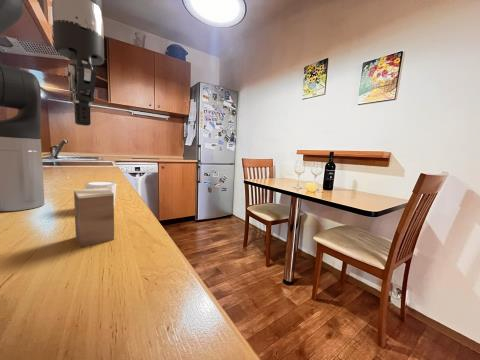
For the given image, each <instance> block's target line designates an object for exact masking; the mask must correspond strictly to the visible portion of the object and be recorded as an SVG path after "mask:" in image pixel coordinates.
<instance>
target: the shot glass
mask: <svg viewBox="0 0 480 360" xmlns="http://www.w3.org/2000/svg"><path fill="white" fill-rule="evenodd" d="M84 184H85V185H84V186H85V189H100V188H107V189H108V190H110V191H111V192H113V193H114V204H115V202H116V193H117V191H116V190H117V183H116V182H115V181H108V180H107V181H106V180H105V181H104V180H102V181H101V180H99V181H90V182H86V183H84Z"/></svg>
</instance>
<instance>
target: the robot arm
mask: <svg viewBox="0 0 480 360" xmlns="http://www.w3.org/2000/svg"><path fill="white" fill-rule="evenodd" d="M23 1H24V0H0V37H1V36H2V35H3V34H4V33H5V32H6V31H8V30H9V29H11V28H12V27H13V26H14V25H15V24H16V23H17V22H19V20H20V19H21V17H22V16H23V14H24V2H23ZM102 1H103V0H52V5H51V14H52V15H51V16H52V35H53V36H52V37H53V49H54V51H56V53H58V54H59V55H61V56H63V57H64V58H67V59H69V61H70V63H69V62H68V66H66V77H68V80H67V82H68V90H69V92H70V101H71V103H72V104H73V106H74V123H75V125H78V126H85V127H86V126H87V127H88V126H90V125H91V124H92V123H91V107H92V105H93V102H94V100H95V98H94V97H95V88H96V79H97V75H98V74H97V72H96V70H95V69H93V66H101V65H103V64H104V63H105V39H104V38H105V35H104V34H105V33H104V32H105V29H104V20H103V19H104V18H103V8H102V7H103V3H102ZM41 93H42V89H41V85H40V81H39V79H38V77H37V76H36V75H35V74H34V73H32V72H29V71H26V70H23V69H20V68H16V67H14V66H13V67H11V66H9V65H5V64H2V63H0V107H3V108H10V109H15V110H17V113H16V114H15V116H13V117H10V118H7V119H6V118H5V119H2V120H0V212H14V211H24V210H30V209H35V208H39V207H42V206H44V205H45V184H44V183H45V182H44V172H43V171H44V170H43V155H42V152H43V151H42V139H41V131H42V121H41V120H42V116H41V115H42V114H41V112H42V111H41V110H42V109H41V108H42V94H41Z"/></svg>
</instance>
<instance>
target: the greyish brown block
mask: <svg viewBox="0 0 480 360" xmlns="http://www.w3.org/2000/svg"><path fill="white" fill-rule="evenodd" d="M73 201H74V223H75V224H74V226H75V227H74V228H75V239H76V241H77V244H78V245H79V247H80V248H85V247H89V246H94V245H97V244H98V245H99V244H102V243H107V242H111V241H115V203H114V193H113V192H111V191H110V190H108V189H107V188H100V189H86V188H85V189H73Z"/></svg>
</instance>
